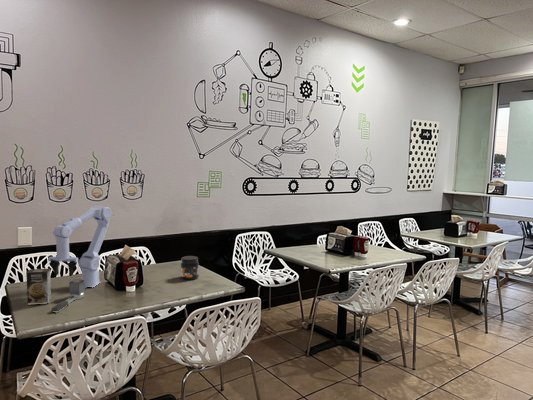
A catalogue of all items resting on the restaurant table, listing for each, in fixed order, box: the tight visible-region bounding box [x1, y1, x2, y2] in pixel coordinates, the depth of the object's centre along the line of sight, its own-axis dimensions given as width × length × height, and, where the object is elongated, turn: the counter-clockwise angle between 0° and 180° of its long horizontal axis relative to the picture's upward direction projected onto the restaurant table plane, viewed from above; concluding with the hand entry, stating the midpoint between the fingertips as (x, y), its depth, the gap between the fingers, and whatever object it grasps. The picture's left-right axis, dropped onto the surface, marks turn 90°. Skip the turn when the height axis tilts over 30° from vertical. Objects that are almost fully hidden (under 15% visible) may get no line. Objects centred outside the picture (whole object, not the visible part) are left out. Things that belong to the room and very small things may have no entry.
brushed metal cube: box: [68, 279, 86, 295], centre depth 204 cm, size 5×5×6 cm
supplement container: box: [179, 255, 200, 281], centre depth 240 cm, size 10×10×12 cm
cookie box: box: [25, 268, 52, 303], centre depth 196 cm, size 9×6×16 cm
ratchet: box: [51, 292, 85, 312], centre depth 196 cm, size 23×6×6 cm, turn 176°
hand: (63, 275), depth 208 cm, fingers open, 7 cm apart
